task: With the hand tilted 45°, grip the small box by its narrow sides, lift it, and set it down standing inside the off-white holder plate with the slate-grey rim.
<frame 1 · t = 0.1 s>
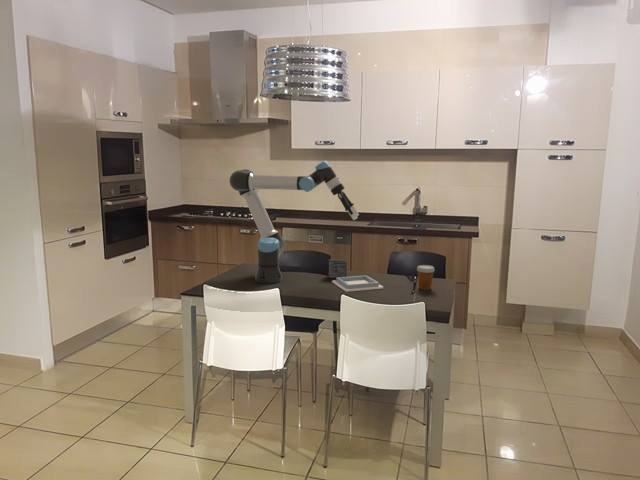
hand: (356, 217, 287), 36 cm above the table, tool tilted 35°, fingers open, 13 cm apart
pill bottle: (424, 288, 277), on the table
small box: (337, 277, 297), on the table
holder: (357, 285, 281), on the table
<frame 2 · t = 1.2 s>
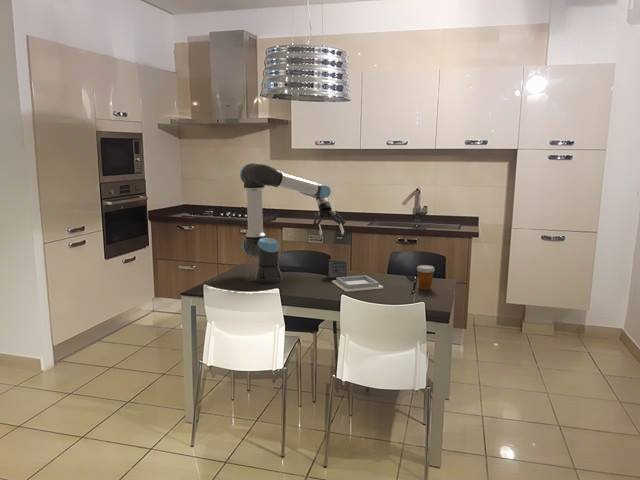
hand: (332, 234, 301), 24 cm above the table, tool tilted 45°, fingers open, 13 cm apart
nothing on the table moved.
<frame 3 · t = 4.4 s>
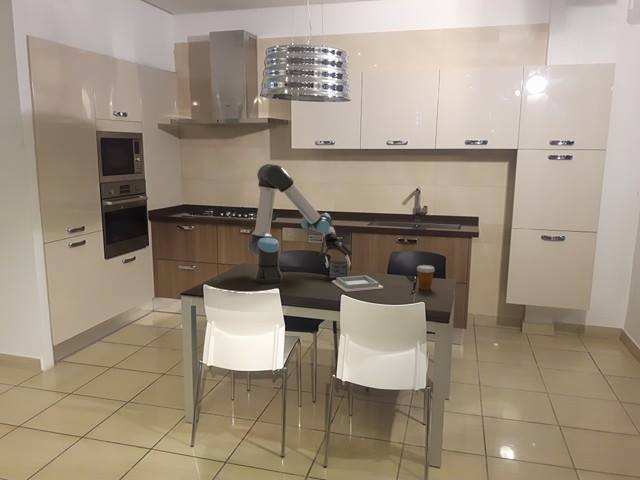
hand: (338, 266, 297), 6 cm above the table, tool tilted 45°, fingers open, 13 cm apart
nothing on the table moved.
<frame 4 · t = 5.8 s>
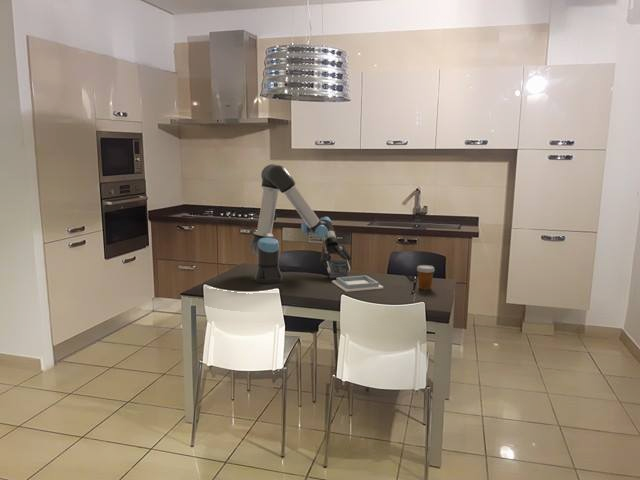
hand: (339, 271, 293), 4 cm above the table, tool tilted 45°, fingers closed on small box, 11 cm apart
small box: (337, 277, 296), on the table, touching gripper
everything else where it was.
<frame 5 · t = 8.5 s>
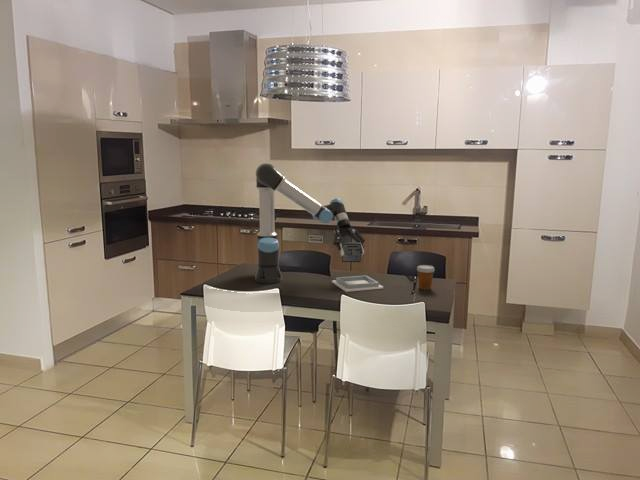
hand: (353, 254, 284), 16 cm above the table, tool tilted 45°, fingers closed on small box, 11 cm apart
small box: (351, 261, 287), point 12 cm above the table, touching gripper
everything else where it was.
when the fingers open (7 cm above the table, at t = 11.6 s): small box drops 1 cm, resting on holder.
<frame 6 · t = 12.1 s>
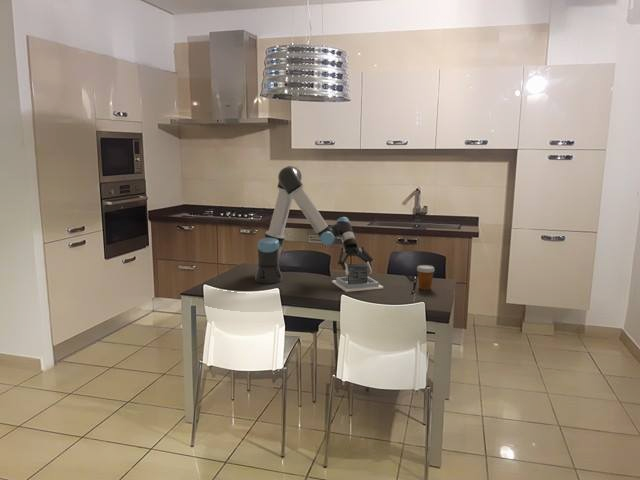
hand: (359, 273, 277), 7 cm above the table, tool tilted 45°, fingers open, 13 cm apart
small box: (357, 284, 280), point 1 cm above the table, touching holder
everything else where it was.
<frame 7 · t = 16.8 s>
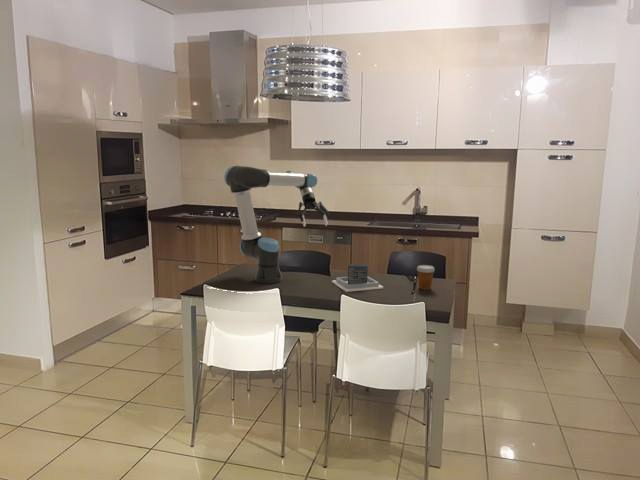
hand: (315, 225, 298), 30 cm above the table, tool tilted 45°, fingers open, 13 cm apart
nothing on the table moved.
at the end: small box 0.3 cm off-centre on the holder, point 0.8 cm above the holder's base; small box tilted 0°; the gripper is holding nothing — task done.
